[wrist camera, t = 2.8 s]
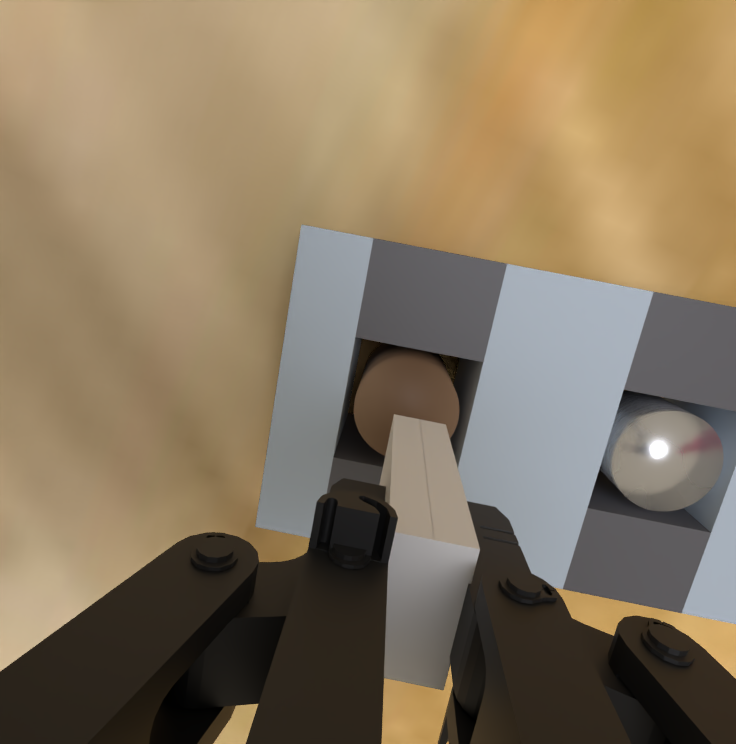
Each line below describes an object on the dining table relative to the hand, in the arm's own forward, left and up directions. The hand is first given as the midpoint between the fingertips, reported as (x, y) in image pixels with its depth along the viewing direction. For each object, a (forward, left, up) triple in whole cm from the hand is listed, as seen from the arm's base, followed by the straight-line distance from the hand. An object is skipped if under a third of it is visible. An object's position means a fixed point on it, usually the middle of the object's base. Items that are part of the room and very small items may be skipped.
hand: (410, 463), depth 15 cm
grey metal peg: (+8, +6, -11) cm, 15 cm away
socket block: (+4, +3, -11) cm, 12 cm away
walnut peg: (0, 0, -11) cm, 11 cm away
